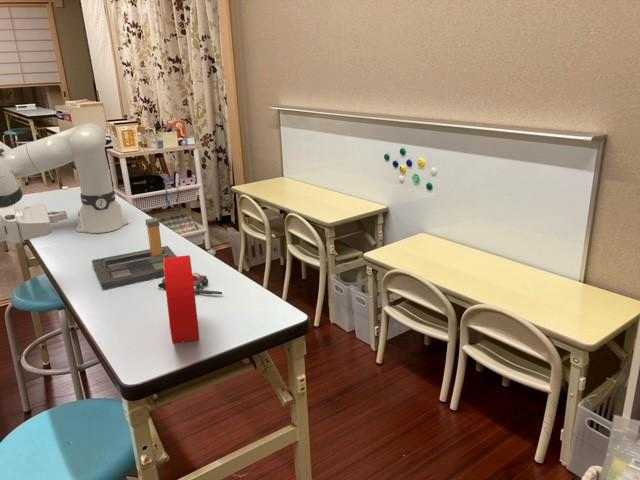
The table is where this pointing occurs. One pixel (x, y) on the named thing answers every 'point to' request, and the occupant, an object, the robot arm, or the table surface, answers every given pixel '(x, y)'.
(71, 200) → the table surface
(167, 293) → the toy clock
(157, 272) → the grey metal board
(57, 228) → the table surface
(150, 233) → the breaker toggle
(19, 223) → the robot arm
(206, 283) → the walkie-talkie
